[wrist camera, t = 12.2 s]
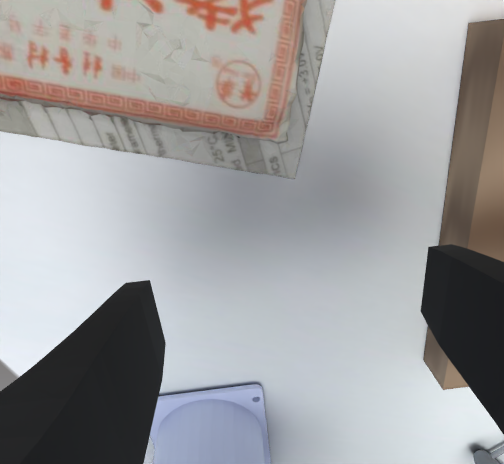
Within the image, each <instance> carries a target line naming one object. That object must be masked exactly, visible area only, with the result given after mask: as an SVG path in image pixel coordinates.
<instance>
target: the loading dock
mask: <svg viewBox="0 0 504 464" xmlns="http://www.w3.org/2000/svg"><path fill="white" fill-rule="evenodd" d="M449 244H453V245H457V246H461V247H464V248H467V249H470V250H473V251H476V252H478V253H481V254H484V255H487V256H489V257H492V258H495V259H497V260H500V261H502V262H504V19H500V20H491V21H483V22H475V23H469V25H468V33H467V40H466V48H465V55H464V63H463V70H462V77H461V85H460V92H459V100H458V107H457V115H456V122H455V130H454V137H453V144H452V152H451V159H450V167H449V174H448V182H447V189H446V196H445V204H444V211H443V219H442V226H441V234H440V241H439V246H441V245H449ZM424 362H425V363H426V365H427V366H428V368H429V369H430V371H431V372H432V374H433V375H434V377H435V378H436V380H437V381H438V383H439V384H440V386H441V387H442V389H443V390H445V389H453V388H461V387H469V386H468V384H467V383H466V382H465V380H464V379H463V378H462V376H461V375H460V374H459V372H458V371H457V369H456V368H455V367H454V365H453V364H452V363H451V361H450V360H449V358H448V357H447V356H446V354H445V353H444V351H443V350H442V349H441V347H440V346H439V344H438V342H437V341H436V339H435V337H434V335H433V334H432V332H431V330H430V328H429V326H428V330H427V338H426V345H425V353H424Z"/></svg>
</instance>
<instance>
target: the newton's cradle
mask: <svg viewBox="0 0 504 464" xmlns="http://www.w3.org/2000/svg"><path fill="white" fill-rule="evenodd" d="M503 453H504V446H502V447H501V448H499V449H497V450H495V451H494V452H492V453H490V454H489V453H488V452H486V451H484V450H478V451H476V452H475V453H474V461H475V464H501V463H499V462H498V461H497V460H496V459H495V458H496V457H498V456H500V455H501V454H503Z"/></svg>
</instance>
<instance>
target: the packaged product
mask: <svg viewBox="0 0 504 464" xmlns="http://www.w3.org/2000/svg"><path fill="white" fill-rule="evenodd" d="M334 4H335V0H0V131H3V132H8V133H14V134H22V135H28V136H32V137H41V138H46V139H52V140H59V141H64V142H69V143H73V144H79V145H85V146H91V147H99V148H107V149H112V150H118V151H124V152H132V153H138V154H146V155H151V156H156V157H163V158H171V159H177V160H182V161H187V162H192V163H198V164H204V165H211V166H217V167H224V168H230V169H235V170H241V171H249V172H253V173H262V174H269V175H275V176H280V177H284V178H290V179H295V176H296V171H297V166H298V162H299V159H300V155H301V151H302V147H303V141H304V135H305V131H306V127H307V124H308V120H309V115H310V111H311V106H312V102H313V97H314V93H315V88H316V84H317V79H318V75H319V70H320V66H321V61H322V56H323V52H324V47H325V42H326V37H327V33H328V29H329V25H330V21H331V17H332V13H333V8H334Z"/></svg>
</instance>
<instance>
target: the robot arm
mask: <svg viewBox="0 0 504 464" xmlns="http://www.w3.org/2000/svg"><path fill="white" fill-rule="evenodd" d="M421 313H422V315H423V316H424V318H425V320H426V322H427V324H428V326H429V328H430V330H431V332H432V334H433V335H434V337H435V339H436V341H437V342H438V344H439V346H440V347H441V349H442V350H443V351H444V353H445V354H446V356H447V357H448V358H449V360H450V361H451V363H452V364H453V365H454V367H455V368H456V369H457V371H458V372H459V374H460V375H461V376H462V378H463V379H464V380H465V382H466V383H467V384H468V386H469V387H470V388H471V390H472V391H473V393H474V394H475V395H476V397H477V398H478V399H479V401H480V402H481V403H482V405H483V406H484V407H485V409H486V410H487V412H488V413H489V414H490V416H491V417H492V418H493V420H494V421H495V422H496V424H497V425H498V427H499V428H500V430H501V431H502V433H503V434H504V262H502V261H500V260H497V259H495V258H492V257H489V256H487V255H484V254H481V253H478V252H476V251H473V250H470V249H467V248H464V247H461V246H457V245H453V244H449V245H441V246H432V247H429V248H428V256H427V265H426V273H425V281H424V289H423V297H422V306H421ZM164 354H165V339H164V335H163V331H162V327H161V323H160V319H159V315H158V311H157V307H156V303H155V299H154V295H153V291H152V287H151V283H150V280H147V281H139V282H130V283H125V284H124V285H123V286H122V287H120V288H119V289H118V290H117V291H116V292H115V293H114V294H113V295H112V296H111V297H110V298H109V299H108V300H107V301H105V302H104V303H103V304H102V305H101V306H100V307H99V308H98V309H97V310H96V311H95V312H94V313H93V314H92V315H91V316H90V317H89V318H88V319H86V320H85V321H84V322H83V323H82V324H81V325H80V326H79V327H78V328H77V329H76V330H75V331H74V332H73V333H71V334H70V335H69V336H68V337H67V338H66V339H65V340H63V341H62V342H61V343H60V344H59V345H58V346H56V347H55V348H54V349H53V350H52V351H51V352H49V353H48V354H47V355H46V356H45V357H44V358H43V359H41V360H40V361H39V362H38V363H37V364H36V365H34V366H33V367H32V368H31V369H29V370H28V371H27V372H26V373H24V374H23V375H22V376H20V377H19V378H18V379H17V380H15V381H14V382H13V383H11V384H10V385H9V386H7V387H6V388H5V389H3V390H2V391H0V464H143V462H144V458H145V454H146V449H147V445H148V440H149V436H151V439H152V442H153V445H154V448H155V452H154V458H153V464H271V458H270V450H269V441H268V432H267V423H266V415H265V406H264V397H263V389H262V387H261V386H260V385H258V384H253V385H245V386H237V387H229V388H221V389H213V390H206V391H198V392H190V393H182V394H174V395H166V396H159V391H160V387H161V382H162V375H163V366H164Z"/></svg>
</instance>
